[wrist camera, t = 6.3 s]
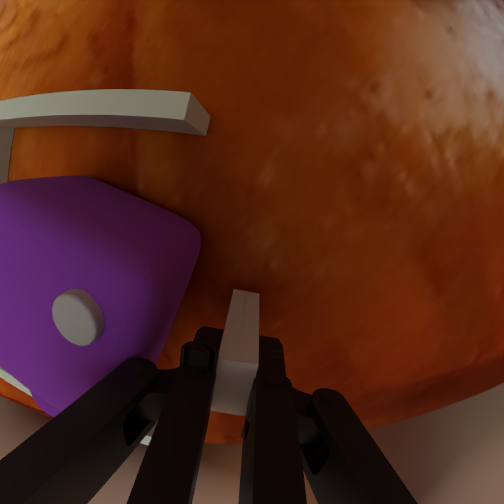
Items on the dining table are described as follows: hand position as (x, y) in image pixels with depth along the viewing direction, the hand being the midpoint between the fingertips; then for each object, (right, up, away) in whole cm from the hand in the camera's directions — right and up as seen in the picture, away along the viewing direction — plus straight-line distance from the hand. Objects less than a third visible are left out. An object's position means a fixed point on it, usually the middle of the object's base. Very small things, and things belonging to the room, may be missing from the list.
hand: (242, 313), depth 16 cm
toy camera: (-8, +1, +2) cm, 9 cm away
